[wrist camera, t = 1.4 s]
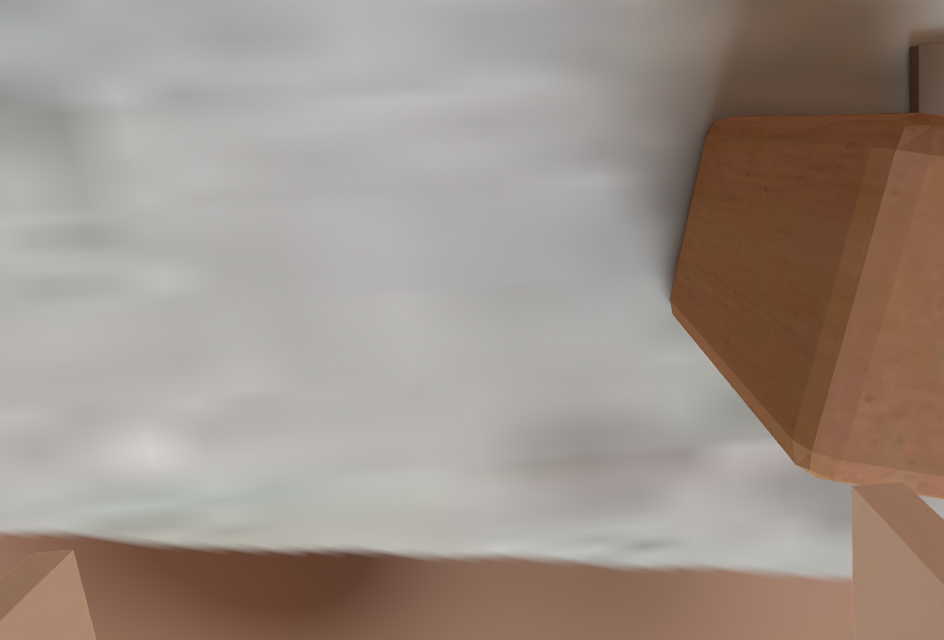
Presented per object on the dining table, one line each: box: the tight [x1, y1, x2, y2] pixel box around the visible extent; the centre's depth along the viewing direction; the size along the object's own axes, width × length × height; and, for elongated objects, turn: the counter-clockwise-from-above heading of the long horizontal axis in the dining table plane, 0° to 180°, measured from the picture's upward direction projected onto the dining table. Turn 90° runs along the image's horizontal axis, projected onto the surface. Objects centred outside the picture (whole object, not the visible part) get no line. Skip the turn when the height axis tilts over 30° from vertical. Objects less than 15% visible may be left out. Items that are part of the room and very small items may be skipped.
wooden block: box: [670, 113, 944, 499], centre depth 30 cm, size 10×10×20 cm
